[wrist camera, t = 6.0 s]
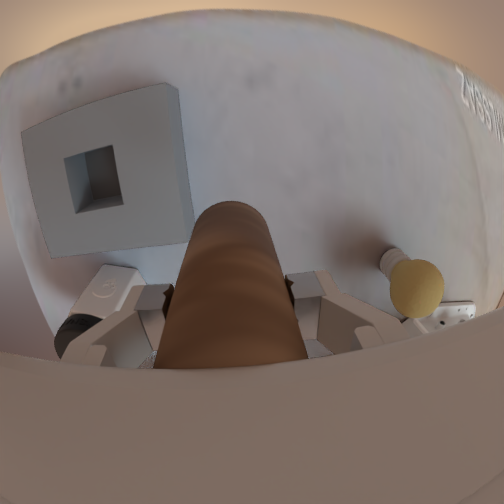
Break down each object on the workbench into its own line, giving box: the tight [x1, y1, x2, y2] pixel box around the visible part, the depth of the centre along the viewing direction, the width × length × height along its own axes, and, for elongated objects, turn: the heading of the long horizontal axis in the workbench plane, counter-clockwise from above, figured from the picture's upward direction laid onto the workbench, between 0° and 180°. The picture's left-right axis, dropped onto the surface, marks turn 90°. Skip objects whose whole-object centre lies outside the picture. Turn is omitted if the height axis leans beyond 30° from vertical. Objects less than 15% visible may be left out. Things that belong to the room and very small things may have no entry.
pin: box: [153, 201, 309, 369], centre depth 10 cm, size 4×4×10 cm
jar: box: [54, 264, 147, 359], centre depth 27 cm, size 9×8×12 cm
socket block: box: [21, 83, 195, 258], centre depth 23 cm, size 16×14×5 cm
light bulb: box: [380, 248, 444, 318], centre depth 28 cm, size 6×6×10 cm
